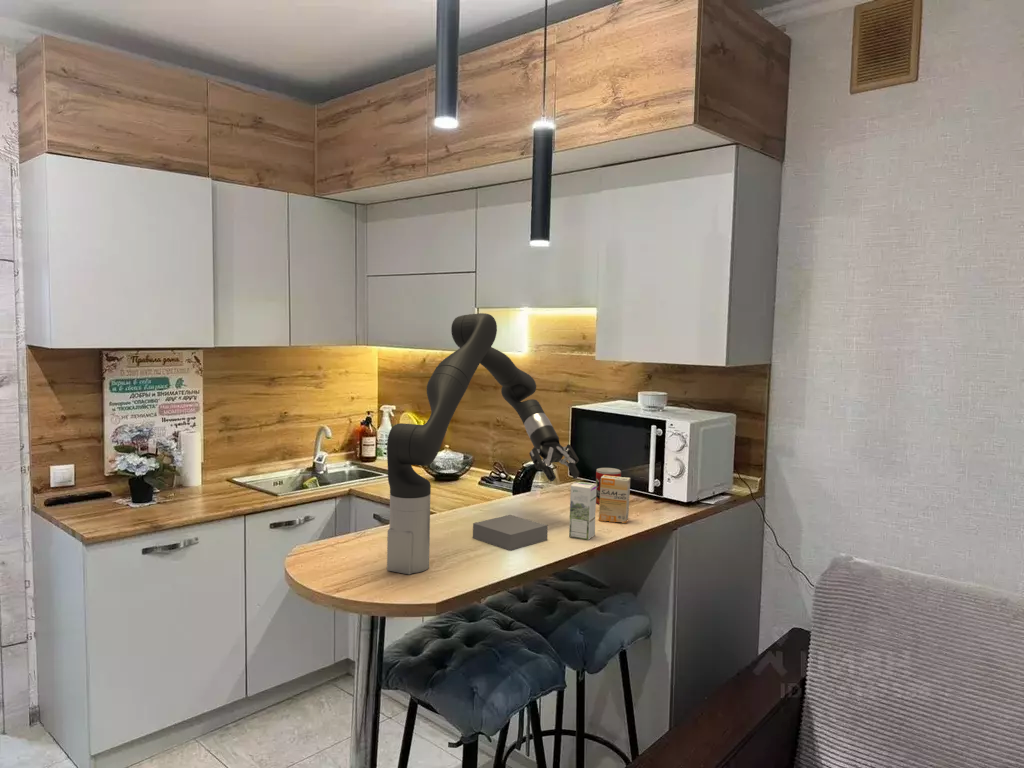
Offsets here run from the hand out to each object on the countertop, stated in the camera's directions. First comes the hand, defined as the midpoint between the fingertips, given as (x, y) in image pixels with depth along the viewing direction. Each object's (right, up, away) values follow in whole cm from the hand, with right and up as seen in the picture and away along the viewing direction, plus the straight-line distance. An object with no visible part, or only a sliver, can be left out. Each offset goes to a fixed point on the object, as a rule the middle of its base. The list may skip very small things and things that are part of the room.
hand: (565, 478), depth 199 cm
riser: (-15, -15, -9) cm, 23 cm away
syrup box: (+4, -15, -5) cm, 17 cm away
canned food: (+16, -13, +33) cm, 39 cm away
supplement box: (+15, -14, +12) cm, 24 cm away
